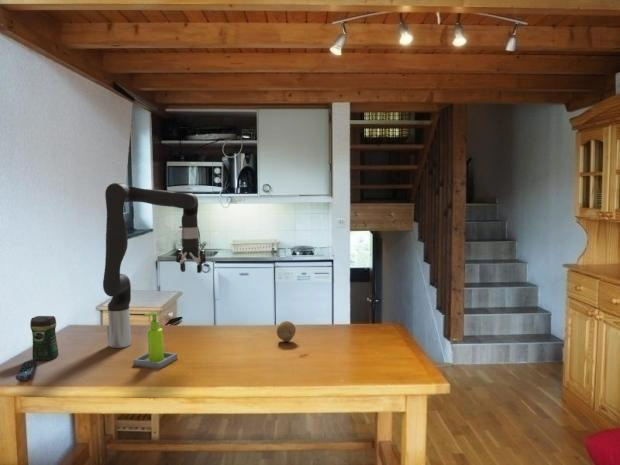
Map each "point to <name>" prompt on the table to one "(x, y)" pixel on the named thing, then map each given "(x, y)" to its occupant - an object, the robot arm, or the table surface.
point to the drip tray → (145, 362)
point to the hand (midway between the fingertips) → (191, 272)
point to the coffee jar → (44, 338)
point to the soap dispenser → (155, 339)
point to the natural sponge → (286, 331)
